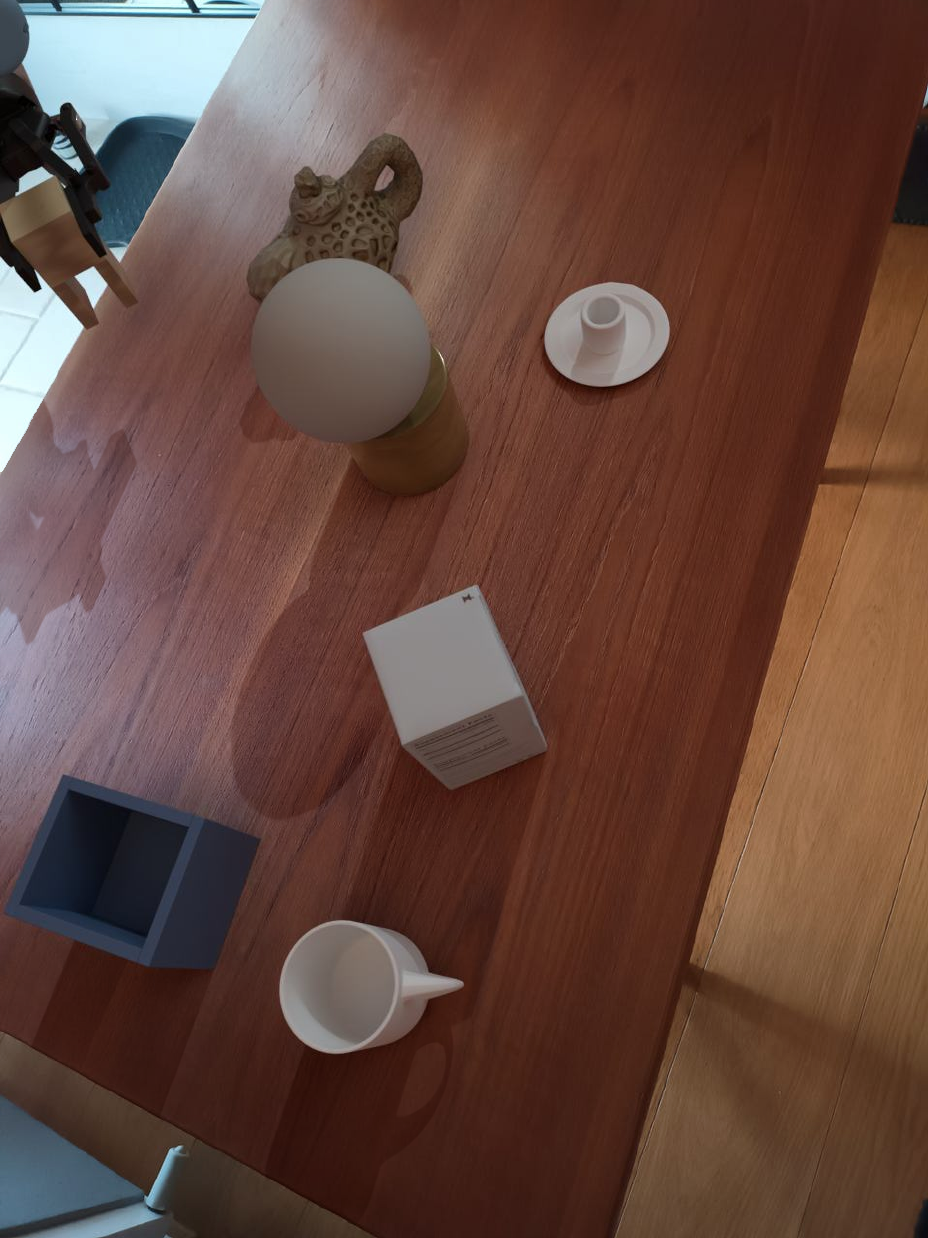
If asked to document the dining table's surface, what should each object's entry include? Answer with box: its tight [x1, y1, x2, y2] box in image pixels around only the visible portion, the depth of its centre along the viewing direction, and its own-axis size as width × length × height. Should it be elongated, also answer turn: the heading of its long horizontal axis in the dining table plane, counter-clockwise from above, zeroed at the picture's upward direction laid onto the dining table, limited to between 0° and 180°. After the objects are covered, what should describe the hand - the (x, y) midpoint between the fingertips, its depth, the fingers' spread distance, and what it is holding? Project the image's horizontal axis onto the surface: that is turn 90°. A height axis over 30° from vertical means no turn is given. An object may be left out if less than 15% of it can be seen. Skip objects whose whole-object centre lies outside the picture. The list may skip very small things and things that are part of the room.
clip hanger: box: [0, 175, 140, 331], centre depth 89 cm, size 6×5×12 cm
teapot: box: [246, 132, 424, 307], centre depth 95 cm, size 21×12×15 cm, turn 129°
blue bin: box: [3, 773, 261, 970], centre depth 77 cm, size 13×11×11 cm
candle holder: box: [543, 281, 671, 388], centre depth 91 cm, size 12×12×4 cm
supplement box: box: [361, 584, 548, 791], centre depth 74 cm, size 10×9×17 cm
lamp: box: [250, 258, 470, 497], centre depth 81 cm, size 15×14×25 cm
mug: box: [278, 919, 465, 1055], centre depth 70 cm, size 9×12×11 cm
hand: (62, 262), depth 83 cm, fingers closed on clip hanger, 6 cm apart
